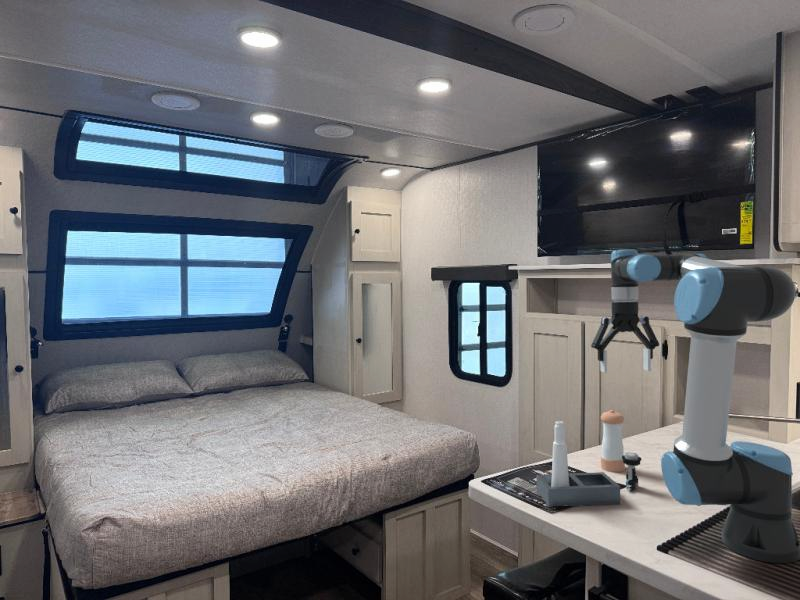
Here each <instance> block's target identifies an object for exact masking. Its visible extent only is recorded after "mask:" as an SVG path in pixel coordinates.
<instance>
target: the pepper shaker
mask: <svg viewBox="0 0 800 600" xmlns="http://www.w3.org/2000/svg"><path fill="white" fill-rule="evenodd" d="M600 419H601V422H602V424H603V431H602V432H603V436H602V441H601V455H600V468H601V469H602V470H603V471H606V472H611V473H621V472H624V471H625V470H626V468H625V467H626V466H625V465H626V464H624V463H623V459H622V456H623V455H624V443H623V437H622V424H623V422H624V421H625V417H624V416H623V414H622V413H620V412H617V411H615V410H614V409H610V410H609V411H605V412H602V414H601V416H600Z"/></svg>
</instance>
